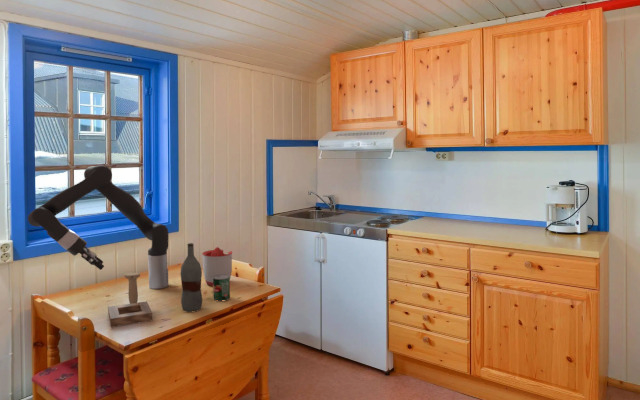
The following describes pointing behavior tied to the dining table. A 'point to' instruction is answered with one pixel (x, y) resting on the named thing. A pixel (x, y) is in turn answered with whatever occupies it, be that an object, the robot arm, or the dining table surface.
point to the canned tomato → (221, 287)
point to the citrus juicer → (216, 264)
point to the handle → (132, 286)
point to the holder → (129, 313)
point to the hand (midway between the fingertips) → (102, 265)
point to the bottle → (191, 282)
